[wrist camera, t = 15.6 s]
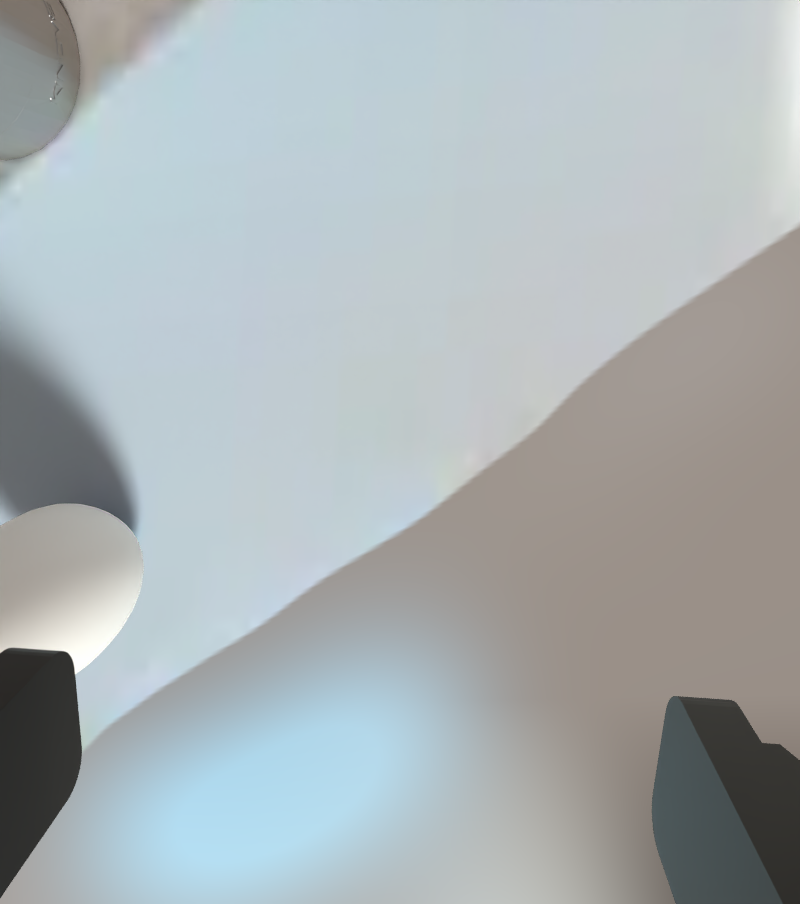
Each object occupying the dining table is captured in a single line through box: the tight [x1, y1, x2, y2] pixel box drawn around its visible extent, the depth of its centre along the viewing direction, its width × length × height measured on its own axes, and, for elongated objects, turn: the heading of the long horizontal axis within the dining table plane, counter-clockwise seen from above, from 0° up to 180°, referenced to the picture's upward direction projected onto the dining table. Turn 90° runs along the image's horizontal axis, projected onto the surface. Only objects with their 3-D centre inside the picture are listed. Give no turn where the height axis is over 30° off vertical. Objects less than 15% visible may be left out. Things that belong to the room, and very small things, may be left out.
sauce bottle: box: [0, 504, 144, 674], centre depth 34 cm, size 8×8×18 cm
